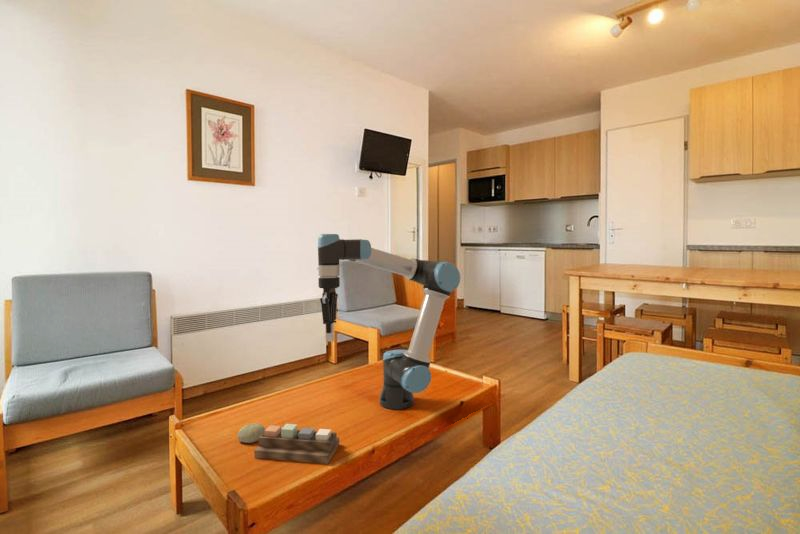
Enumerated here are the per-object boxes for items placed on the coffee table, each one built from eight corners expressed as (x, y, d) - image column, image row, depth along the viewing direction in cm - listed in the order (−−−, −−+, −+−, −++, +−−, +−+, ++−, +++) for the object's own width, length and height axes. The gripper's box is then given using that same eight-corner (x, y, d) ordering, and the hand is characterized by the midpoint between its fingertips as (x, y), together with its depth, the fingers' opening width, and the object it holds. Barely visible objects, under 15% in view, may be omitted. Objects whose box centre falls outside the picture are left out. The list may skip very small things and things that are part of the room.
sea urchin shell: (240, 427, 145) (255, 412, 145) (255, 441, 146) (271, 426, 146) (231, 440, 136) (247, 423, 136) (248, 455, 137) (264, 438, 137)
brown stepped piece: (339, 444, 137) (339, 429, 136) (328, 463, 125) (327, 447, 125) (271, 439, 140) (271, 424, 140) (254, 457, 128) (254, 441, 128)
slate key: (314, 438, 134) (314, 428, 133) (309, 444, 130) (309, 434, 129) (303, 437, 134) (302, 427, 134) (298, 443, 130) (298, 433, 130)
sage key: (297, 434, 134) (297, 424, 134) (292, 440, 130) (292, 429, 130) (286, 433, 135) (286, 423, 135) (281, 439, 131) (281, 429, 131)
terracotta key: (281, 435, 135) (280, 426, 135) (275, 441, 131) (275, 431, 131) (270, 435, 136) (269, 425, 136) (264, 440, 132) (264, 430, 132)
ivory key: (331, 439, 133) (331, 429, 133) (327, 445, 129) (327, 435, 129) (319, 438, 133) (319, 428, 133) (315, 444, 129) (315, 434, 129)
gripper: (325, 275, 149) (325, 336, 150) (312, 278, 136) (313, 345, 137) (344, 275, 148) (344, 337, 149) (333, 278, 135) (334, 346, 136)
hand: (329, 341), depth 143 cm, fingers closed
